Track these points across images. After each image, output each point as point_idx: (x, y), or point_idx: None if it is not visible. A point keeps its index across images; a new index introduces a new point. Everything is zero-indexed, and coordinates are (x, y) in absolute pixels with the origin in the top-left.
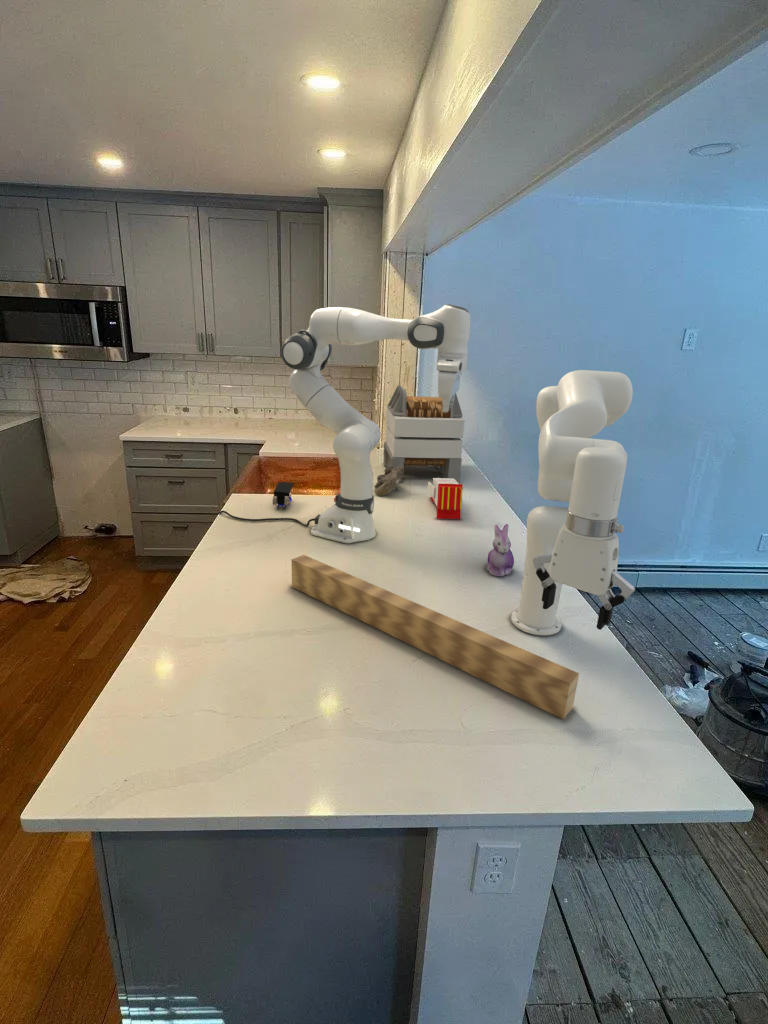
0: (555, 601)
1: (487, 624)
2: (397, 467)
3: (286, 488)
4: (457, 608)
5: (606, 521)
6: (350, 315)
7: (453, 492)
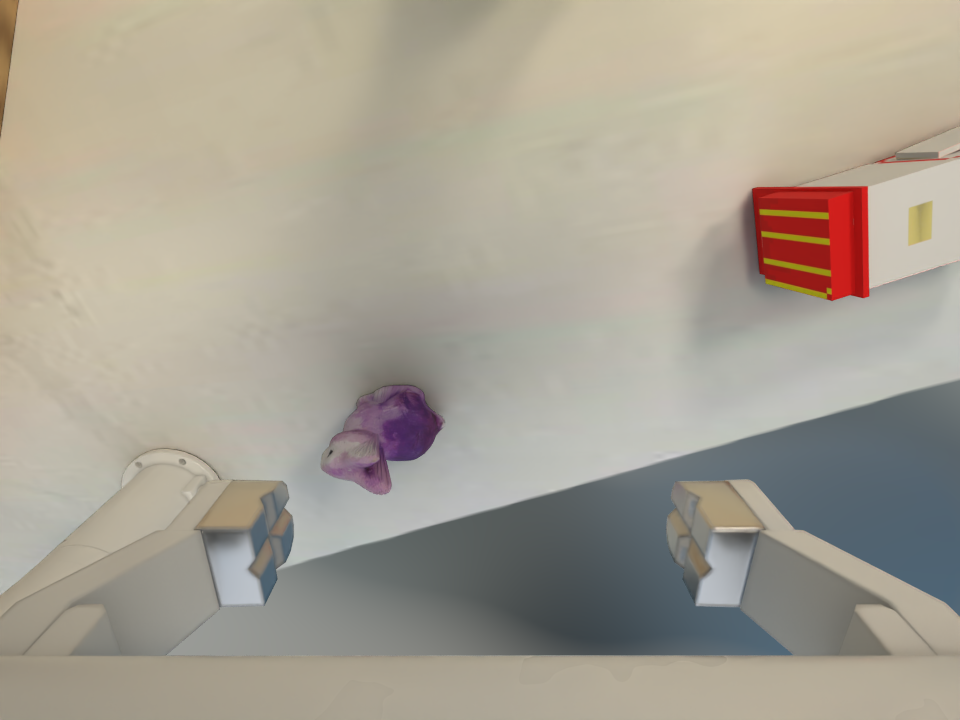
0: None
1: (117, 406)
2: None
3: None
4: (149, 340)
5: None
6: None
7: (812, 259)
